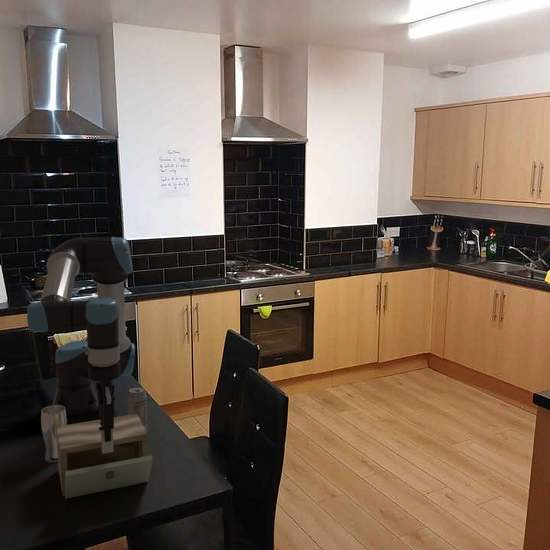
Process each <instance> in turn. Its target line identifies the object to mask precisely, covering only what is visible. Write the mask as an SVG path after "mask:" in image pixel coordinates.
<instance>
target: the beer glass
mask: <svg viewBox="0 0 550 550" xmlns="http://www.w3.org/2000/svg"><path fill="white" fill-rule="evenodd" d="M40 412H41V415H40V426H41V432H42V436H43V441H44V444H45V455H44V461H46V462H48V463H51V464H52V463H58V451H57V434H56V427H57V426H63V425H68V420H67V419H68V418H67V417H68V416H67V415H66V410H65V407H64V406H62V405H53V404H52V405H47V406H45V407H43V408H42V409H41V411H40Z"/></svg>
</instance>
